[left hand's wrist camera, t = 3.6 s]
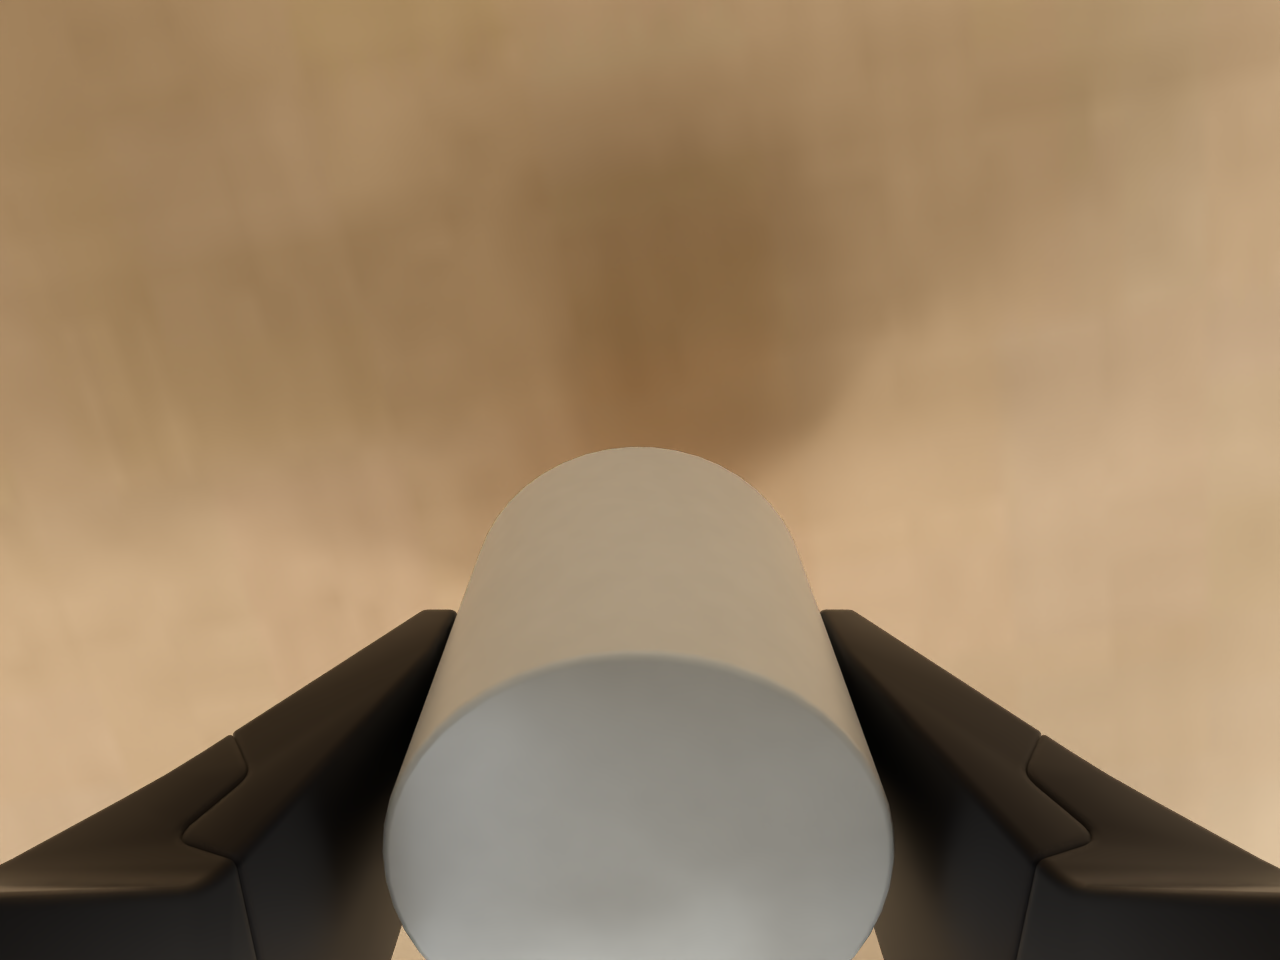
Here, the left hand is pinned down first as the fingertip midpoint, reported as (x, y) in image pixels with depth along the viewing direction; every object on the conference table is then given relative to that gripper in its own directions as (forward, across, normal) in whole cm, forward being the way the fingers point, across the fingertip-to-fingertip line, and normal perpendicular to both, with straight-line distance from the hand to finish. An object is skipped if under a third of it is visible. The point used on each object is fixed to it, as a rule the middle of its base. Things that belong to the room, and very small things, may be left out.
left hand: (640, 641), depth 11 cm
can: (+1, 0, 0) cm, 1 cm away
